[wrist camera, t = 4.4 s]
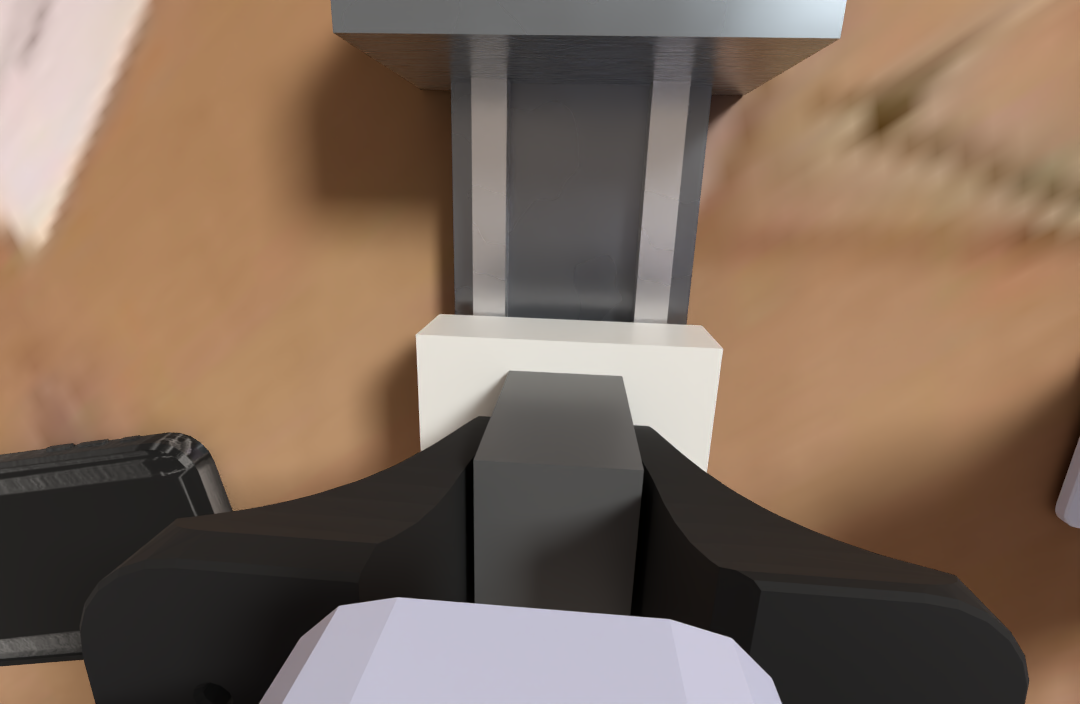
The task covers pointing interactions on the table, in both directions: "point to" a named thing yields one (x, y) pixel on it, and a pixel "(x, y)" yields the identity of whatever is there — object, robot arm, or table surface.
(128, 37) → the table surface
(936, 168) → the table surface
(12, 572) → the phone
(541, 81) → the rail base
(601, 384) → the carriage
